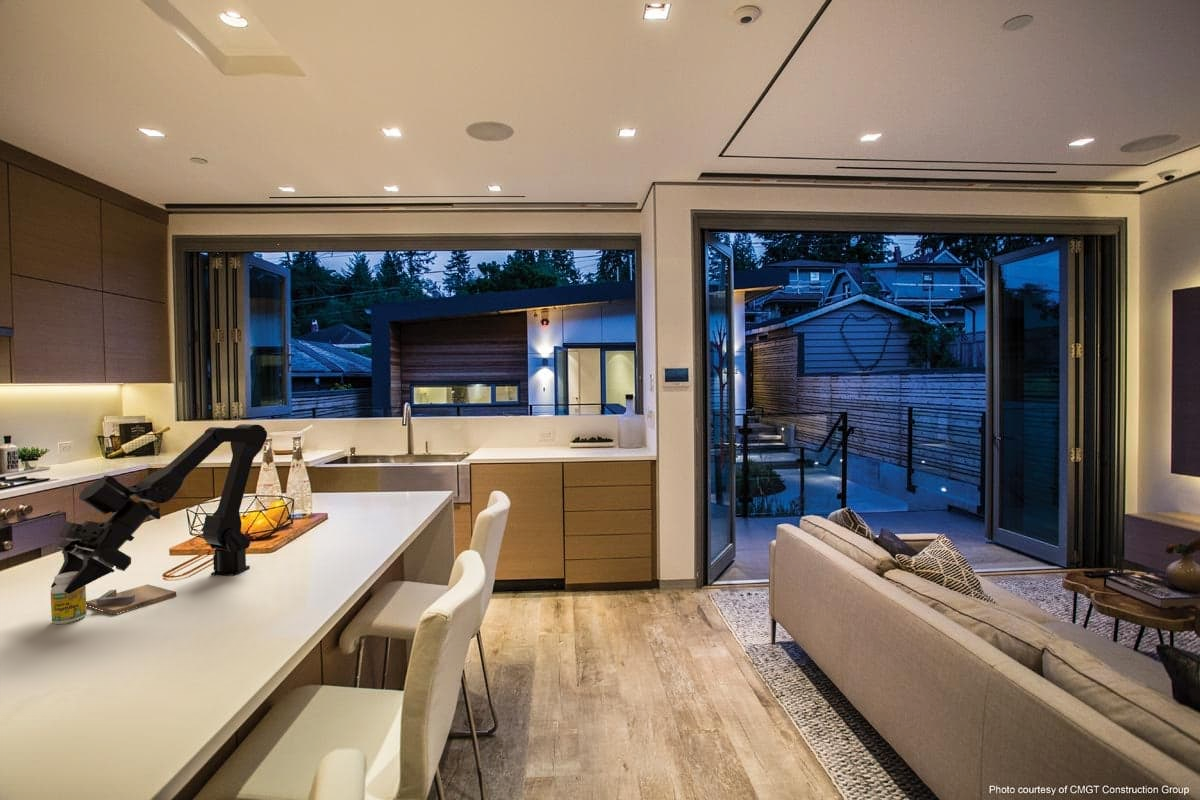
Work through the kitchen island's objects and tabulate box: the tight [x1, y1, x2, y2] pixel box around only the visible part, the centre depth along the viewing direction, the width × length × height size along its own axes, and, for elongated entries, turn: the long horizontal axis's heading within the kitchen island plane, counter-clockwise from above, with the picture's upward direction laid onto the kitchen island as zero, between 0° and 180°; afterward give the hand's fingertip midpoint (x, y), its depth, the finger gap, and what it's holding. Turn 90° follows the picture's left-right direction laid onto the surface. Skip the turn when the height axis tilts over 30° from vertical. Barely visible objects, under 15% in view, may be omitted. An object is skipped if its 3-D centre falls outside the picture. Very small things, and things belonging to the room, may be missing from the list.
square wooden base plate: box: [86, 584, 177, 615], centre depth 128 cm, size 12×12×2 cm
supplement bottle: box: [50, 571, 88, 625], centre depth 118 cm, size 5×5×10 cm
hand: (59, 590), depth 117 cm, fingers closed on supplement bottle, 5 cm apart
